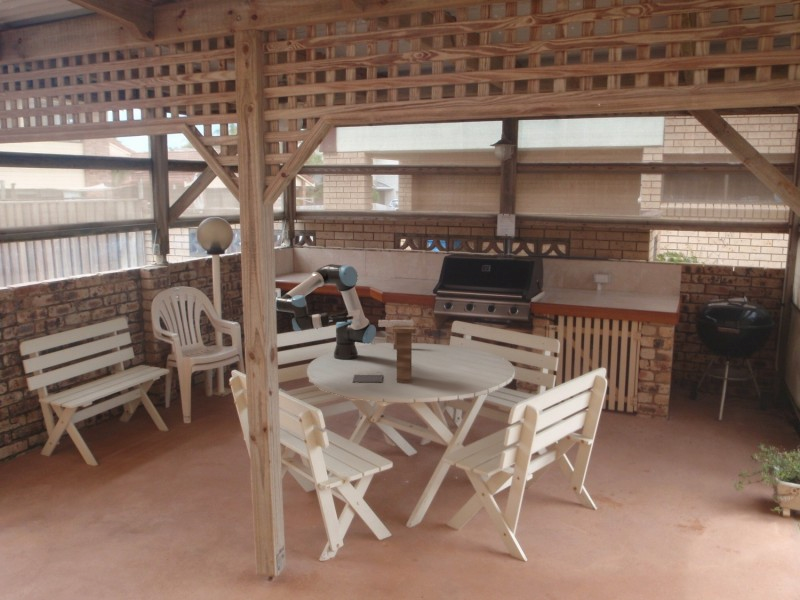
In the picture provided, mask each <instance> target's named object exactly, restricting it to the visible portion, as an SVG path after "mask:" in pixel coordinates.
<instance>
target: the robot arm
mask: <svg viewBox="0 0 800 600" xmlns="http://www.w3.org/2000/svg"><path fill="white" fill-rule="evenodd" d="M358 276H359V275H358V272H357V269H355V267H354V266H351V265H346V264H343V265H341V264H331V263H330V264H326V265H323V266H321V267H320V268H317V269H316V270H315V271H312V272H311V274H310V276H309V277H307V278H306V279H305V280H303V281H302V282H301V283H299V284H298V285H296V286H295V287H294V288H292V289H291V290H289V291H288V292H286V293H285V294H283V295H282V296H276V310H275V311H278V312H286V313H293V314H294V317H293V318H292V319H291V323H292V324H291V325H292V329H293V331H295V332H300V331H301V332H302V331H306V330H307V331H308V330H315V329H316V330H318V329H320V328H326V327H329V326H330V324H334V323H335V342H336V344H335V347H334V352H333V358H334V357H335V358H334V359H337V358H339V359H338V360H352V359H351V358H353V359H356V358H358V357H357V356H359V353H358V349H357V346H356V343H360V344H363V345H364V344H365V345H367V344H372V343H373V342H374V340H375V338H376V334H377V329H376V326H375V325H374V324H371V323H370V320H369V319H368V318H367V317H366V316H365V314H364V310H363V307H362V304H361V301H360V299H359V295H358V293H357V291H356V286H357V283H358ZM325 285H334V286H336V289H337V291H338V292H340V294H341V296H342V298H343V302H344V305H345V307H346V311H343V312H339V313H335V314H330V315H329V314H328V312H323V313H317V314H315V313H314V314H310V313H309V309H308V306H307V305H308V303H307V300H306V296H307V295H309V294H311V293H312V292H313V291H315V290H316V289H318V288H319V287H320V288H321V287H323V286H325ZM309 314H310V315H309ZM355 357H356V358H355Z"/></svg>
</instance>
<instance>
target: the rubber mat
mask: <svg viewBox="0 0 800 600" xmlns="http://www.w3.org/2000/svg"><path fill="white" fill-rule="evenodd" d="M383 379H384V375H383V374H354V375H353V378H352V383H355V382H359V383H358V384H361V383H363V384H369V383H371V384H373V383H375V384H378V383H379V384H382V383H383Z"/></svg>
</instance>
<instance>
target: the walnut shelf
mask: <svg viewBox="0 0 800 600" xmlns="http://www.w3.org/2000/svg"><path fill="white" fill-rule="evenodd" d="M392 333H393V334H394V333H397V349H396V383H412V372H413V370H412V367H413V366H412V363H413V362H412V358H413V357H412V355H413V354H412V348H413V347H412V346H413V345H412V337H413V336H412V334H413V333H415V334H416V323H415V322H413V327H392Z"/></svg>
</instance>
